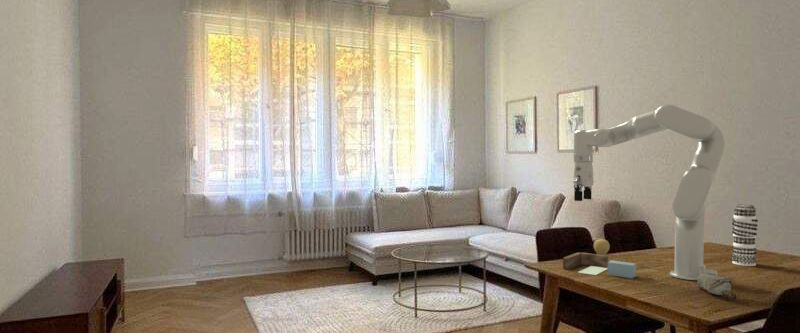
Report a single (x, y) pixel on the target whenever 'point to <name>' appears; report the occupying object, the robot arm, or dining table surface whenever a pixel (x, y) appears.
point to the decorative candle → (744, 235)
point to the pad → (593, 270)
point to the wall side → (594, 259)
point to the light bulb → (601, 246)
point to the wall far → (572, 261)
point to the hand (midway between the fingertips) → (583, 200)
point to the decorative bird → (715, 285)
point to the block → (622, 269)
